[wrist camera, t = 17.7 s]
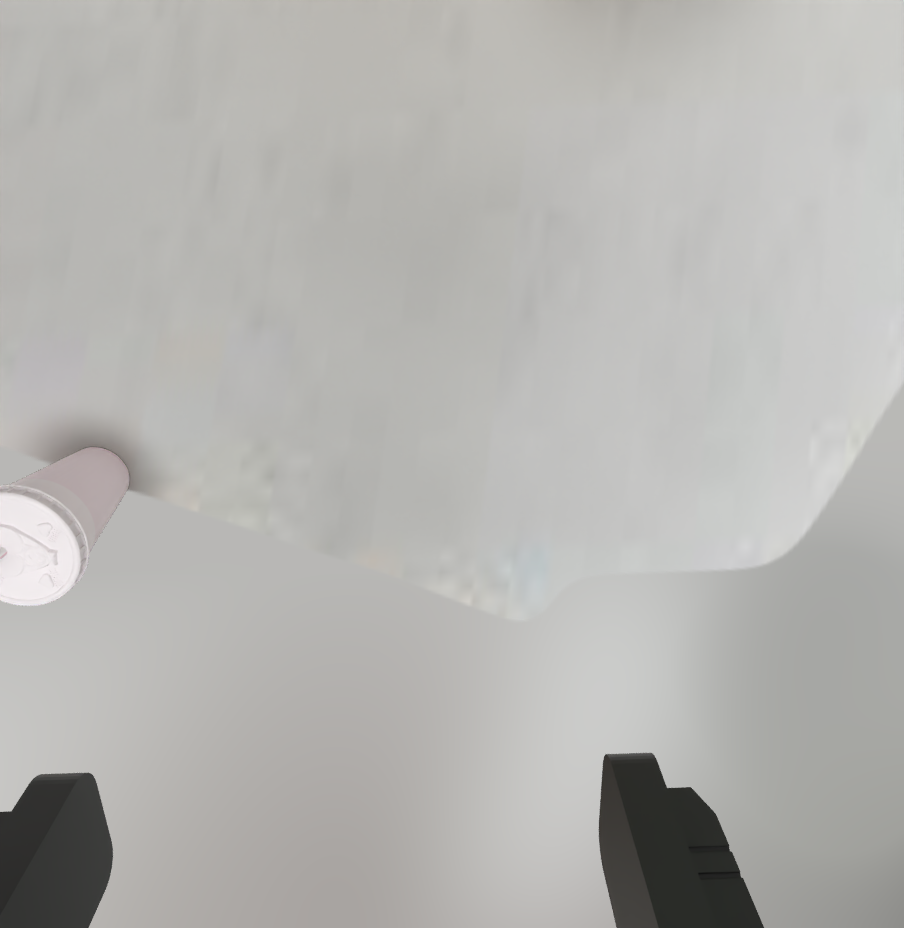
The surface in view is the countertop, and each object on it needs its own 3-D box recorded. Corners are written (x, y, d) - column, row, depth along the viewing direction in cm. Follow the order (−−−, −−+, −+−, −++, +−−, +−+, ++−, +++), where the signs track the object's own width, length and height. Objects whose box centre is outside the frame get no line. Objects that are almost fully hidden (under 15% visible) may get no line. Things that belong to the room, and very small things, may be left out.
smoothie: (43, 417, 45) (-123, 523, 32) (153, 434, 45) (34, 545, 32) (46, 515, 47) (-107, 650, 34) (151, 529, 48) (39, 669, 35)
